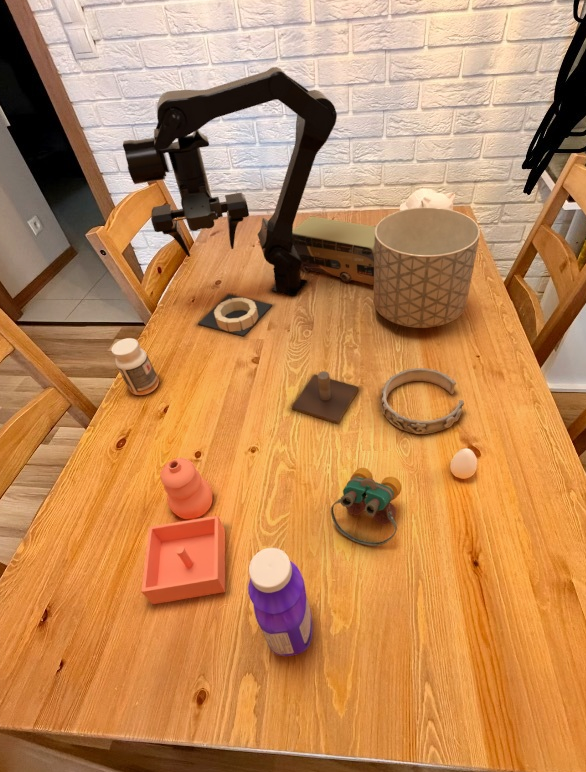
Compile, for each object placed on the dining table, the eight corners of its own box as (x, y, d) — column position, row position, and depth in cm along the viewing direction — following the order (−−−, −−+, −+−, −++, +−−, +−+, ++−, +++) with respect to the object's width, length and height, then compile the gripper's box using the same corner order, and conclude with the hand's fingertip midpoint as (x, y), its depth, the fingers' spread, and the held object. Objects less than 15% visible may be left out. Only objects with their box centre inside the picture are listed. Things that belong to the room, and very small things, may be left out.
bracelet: (404, 369, 86) (405, 356, 84) (474, 395, 81) (477, 383, 78) (366, 415, 79) (366, 403, 77) (439, 448, 73) (442, 436, 71)
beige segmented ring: (235, 302, 105) (233, 293, 103) (266, 314, 101) (264, 304, 99) (208, 323, 100) (205, 314, 98) (239, 336, 96) (237, 327, 94)
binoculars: (397, 539, 66) (413, 476, 63) (381, 572, 58) (397, 502, 55) (337, 517, 69) (349, 456, 66) (313, 546, 61) (326, 478, 58)
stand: (314, 377, 87) (312, 352, 82) (358, 389, 84) (358, 365, 79) (292, 409, 82) (287, 385, 77) (338, 424, 78) (336, 399, 74)
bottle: (267, 600, 59) (240, 536, 46) (311, 595, 59) (296, 530, 46) (267, 662, 54) (238, 609, 41) (315, 657, 54) (300, 602, 41)
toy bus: (377, 291, 104) (376, 249, 97) (293, 272, 114) (287, 233, 107) (397, 270, 109) (397, 228, 102) (315, 253, 119) (310, 215, 112)
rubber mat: (228, 295, 108) (228, 294, 108) (272, 305, 104) (272, 304, 103) (198, 324, 101) (197, 323, 101) (243, 337, 97) (243, 335, 96)
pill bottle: (163, 376, 90) (145, 335, 83) (153, 397, 86) (134, 356, 79) (136, 375, 91) (116, 335, 84) (125, 396, 87) (103, 356, 80)
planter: (361, 330, 95) (360, 248, 82) (387, 281, 107) (391, 202, 93) (454, 347, 90) (470, 262, 76) (471, 294, 101) (487, 212, 88)
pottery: (225, 591, 60) (206, 559, 53) (152, 604, 60) (123, 572, 53) (224, 479, 72) (209, 440, 65) (164, 489, 72) (142, 450, 65)
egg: (472, 485, 68) (479, 463, 64) (447, 478, 70) (452, 456, 66) (476, 465, 71) (482, 443, 67) (451, 459, 72) (456, 437, 68)
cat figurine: (388, 230, 123) (391, 163, 111) (427, 225, 124) (434, 158, 111) (414, 280, 106) (421, 207, 94) (458, 273, 107) (471, 201, 94)
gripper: (138, 199, 80) (166, 279, 91) (244, 182, 82) (259, 262, 93) (140, 176, 87) (166, 252, 99) (237, 160, 89) (252, 237, 101)
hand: (210, 251), depth 98 cm, fingers open, 9 cm apart
